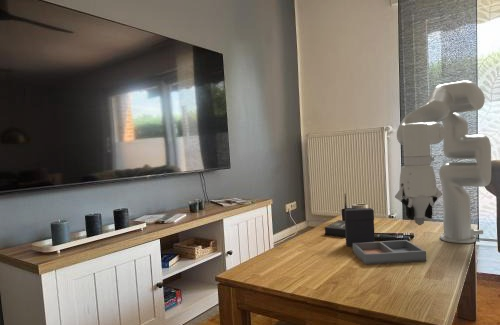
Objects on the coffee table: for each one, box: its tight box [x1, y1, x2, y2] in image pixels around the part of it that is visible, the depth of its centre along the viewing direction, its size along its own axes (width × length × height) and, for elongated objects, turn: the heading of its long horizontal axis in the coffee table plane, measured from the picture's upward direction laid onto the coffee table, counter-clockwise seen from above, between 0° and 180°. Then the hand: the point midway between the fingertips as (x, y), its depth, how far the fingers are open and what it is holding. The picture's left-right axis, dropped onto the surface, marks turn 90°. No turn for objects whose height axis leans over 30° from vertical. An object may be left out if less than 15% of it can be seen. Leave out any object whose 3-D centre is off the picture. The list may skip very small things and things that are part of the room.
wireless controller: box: [324, 193, 348, 239], centre depth 160 cm, size 20×14×17 cm
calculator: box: [343, 207, 376, 248], centre depth 137 cm, size 11×4×15 cm, turn 84°
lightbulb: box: [408, 195, 429, 226], centre depth 107 cm, size 6×6×11 cm
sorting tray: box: [352, 239, 427, 266], centre depth 122 cm, size 21×14×4 cm, turn 90°
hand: (419, 217), depth 108 cm, fingers closed on lightbulb, 5 cm apart
